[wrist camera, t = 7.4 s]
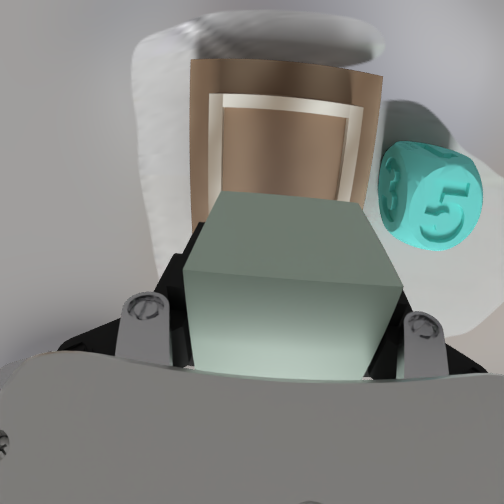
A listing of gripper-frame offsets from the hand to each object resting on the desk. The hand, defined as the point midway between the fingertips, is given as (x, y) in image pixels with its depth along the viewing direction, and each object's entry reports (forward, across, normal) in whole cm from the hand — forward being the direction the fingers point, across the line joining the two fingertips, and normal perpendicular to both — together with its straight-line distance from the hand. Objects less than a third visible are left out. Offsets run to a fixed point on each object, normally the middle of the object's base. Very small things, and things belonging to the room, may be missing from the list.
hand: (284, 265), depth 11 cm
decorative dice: (+20, -14, +1) cm, 24 cm away
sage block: (+1, 0, 0) cm, 1 cm away
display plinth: (+19, 0, 0) cm, 19 cm away
